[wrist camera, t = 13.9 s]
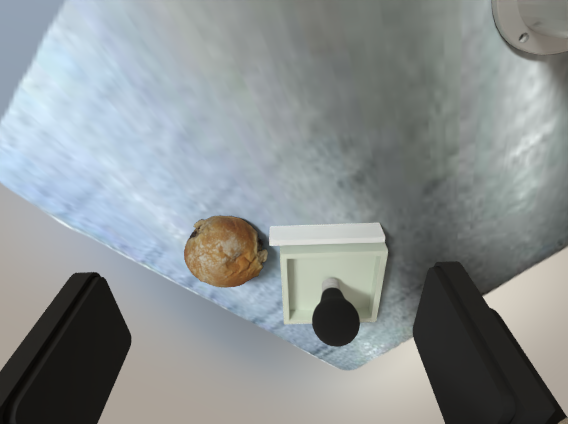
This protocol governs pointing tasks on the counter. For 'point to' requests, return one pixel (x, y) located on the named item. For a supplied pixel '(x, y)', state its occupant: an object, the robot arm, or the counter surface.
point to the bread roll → (224, 251)
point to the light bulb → (335, 316)
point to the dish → (331, 264)
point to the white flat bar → (326, 234)
